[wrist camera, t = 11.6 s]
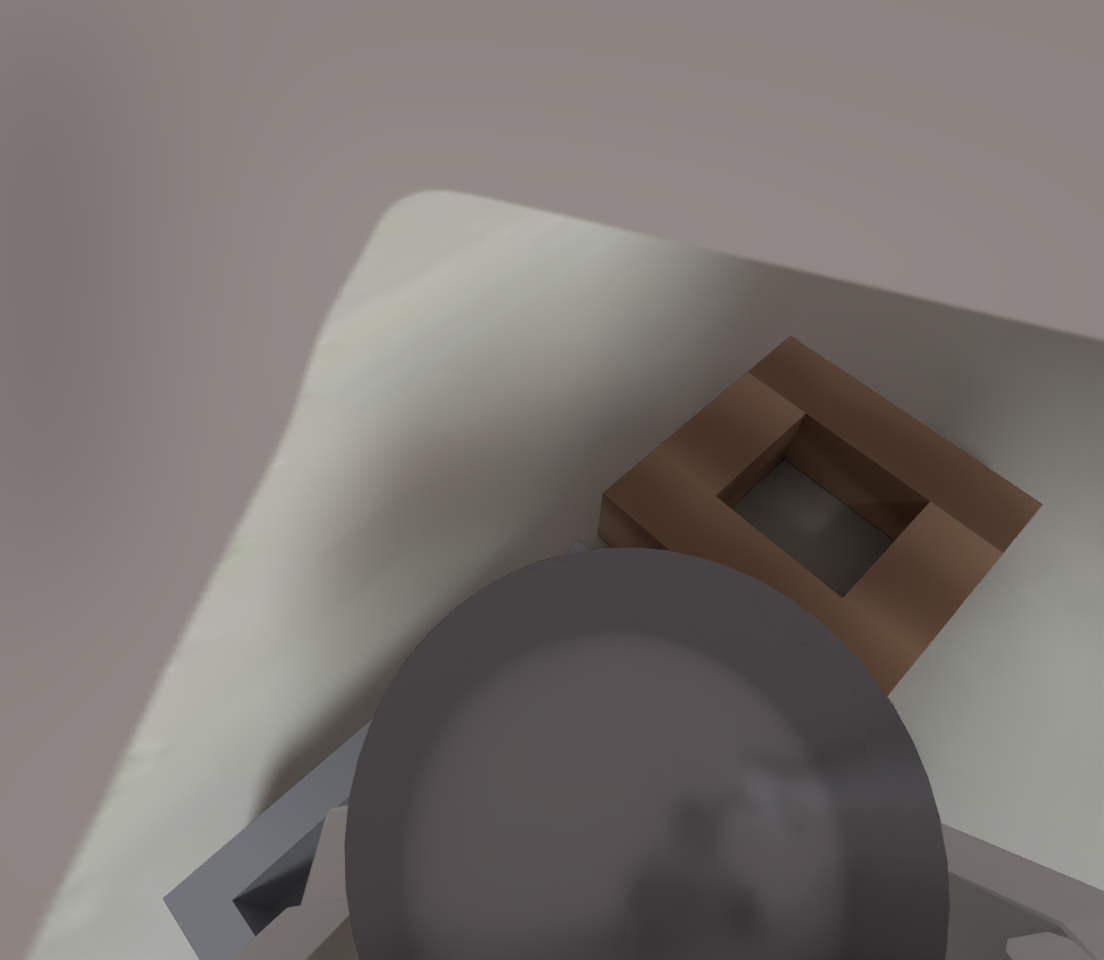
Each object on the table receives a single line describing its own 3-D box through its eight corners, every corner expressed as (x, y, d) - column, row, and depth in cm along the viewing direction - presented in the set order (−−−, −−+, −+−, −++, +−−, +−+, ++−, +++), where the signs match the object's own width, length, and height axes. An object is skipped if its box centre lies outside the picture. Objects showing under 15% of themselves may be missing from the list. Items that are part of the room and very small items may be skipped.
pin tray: (574, 595, 23) (580, 540, 20) (923, 927, 19) (996, 920, 16) (222, 910, 19) (162, 898, 16) (569, 1454, 14) (577, 1583, 11)
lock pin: (578, 742, 15) (631, 463, 7) (741, 916, 14) (1061, 823, 5) (412, 906, 14) (226, 795, 5) (575, 1124, 12) (668, 1448, 4)
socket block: (771, 384, 28) (790, 335, 26) (999, 544, 24) (1042, 504, 22) (597, 534, 24) (603, 492, 22) (834, 746, 21) (866, 721, 19)
